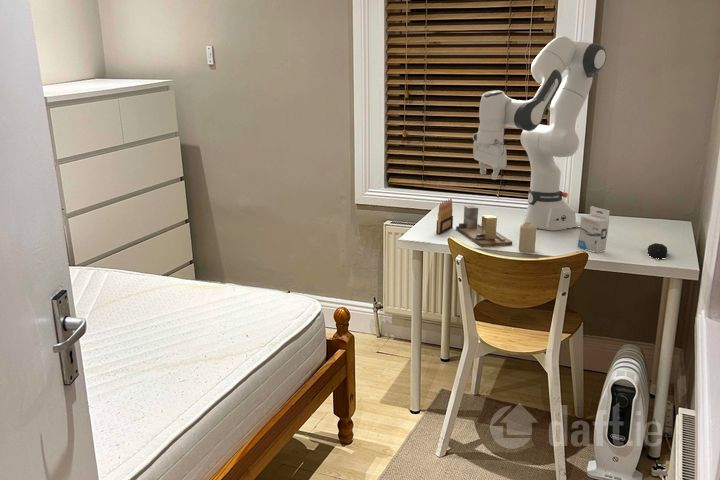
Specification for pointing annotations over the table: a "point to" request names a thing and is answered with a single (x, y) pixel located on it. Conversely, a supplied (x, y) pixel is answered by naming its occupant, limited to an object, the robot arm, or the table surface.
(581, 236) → the ink box
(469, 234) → the gauge board
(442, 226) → the ammunition clip
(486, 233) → the block
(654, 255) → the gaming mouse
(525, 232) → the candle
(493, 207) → the table surface
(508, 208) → the table surface
